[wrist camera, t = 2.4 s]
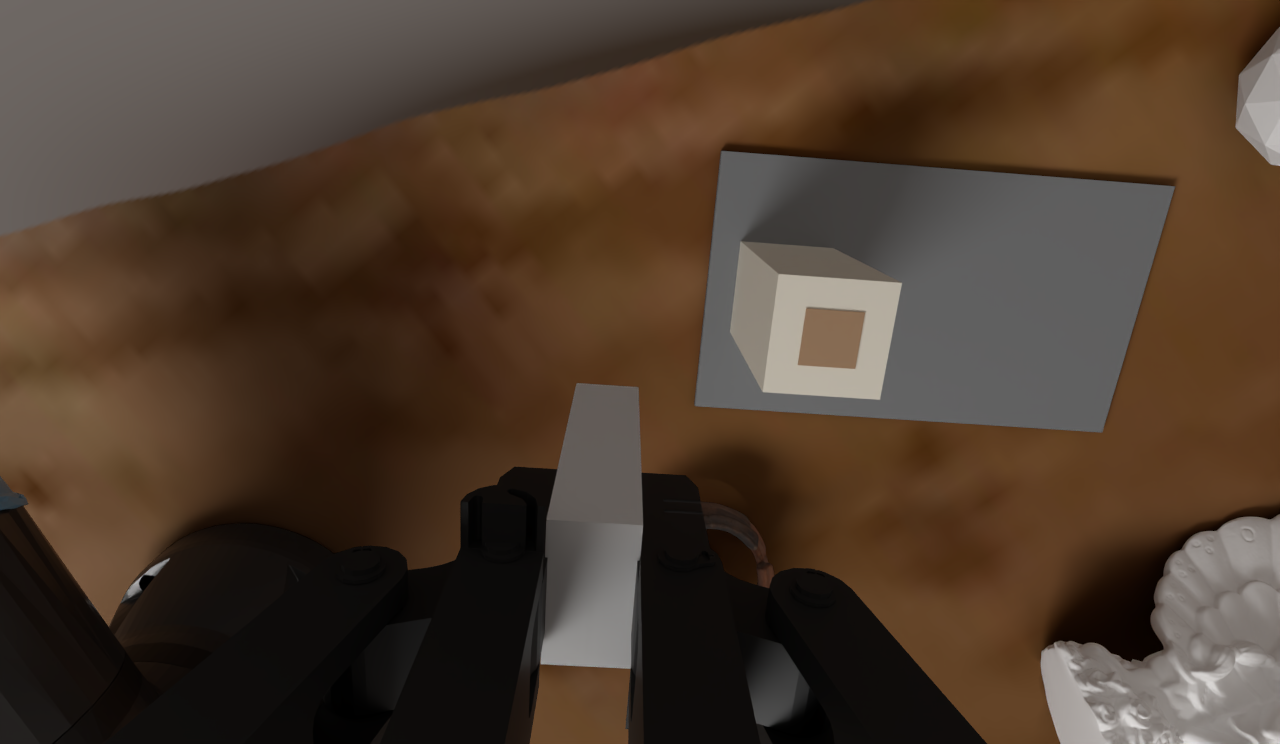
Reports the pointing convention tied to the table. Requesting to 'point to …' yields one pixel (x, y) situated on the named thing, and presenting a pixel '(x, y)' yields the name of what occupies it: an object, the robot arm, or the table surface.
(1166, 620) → the cherub figurine
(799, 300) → the cream block
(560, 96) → the table surface
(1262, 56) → the geometric ball
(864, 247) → the grey mat
